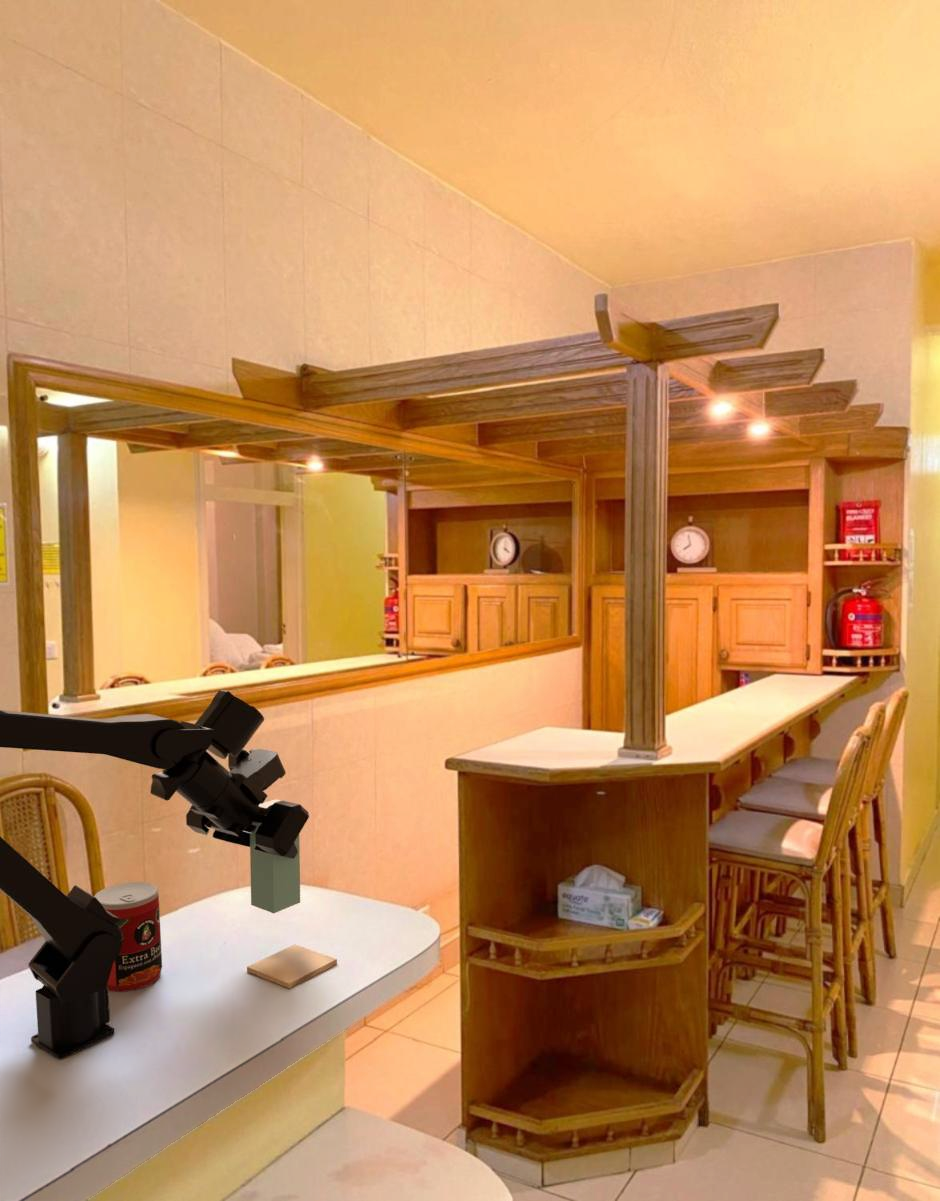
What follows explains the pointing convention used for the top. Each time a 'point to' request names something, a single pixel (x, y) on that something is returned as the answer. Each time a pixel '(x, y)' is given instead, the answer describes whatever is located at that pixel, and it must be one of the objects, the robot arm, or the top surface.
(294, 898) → the tea tin
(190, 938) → the top surface
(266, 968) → the coaster
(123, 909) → the canned food
